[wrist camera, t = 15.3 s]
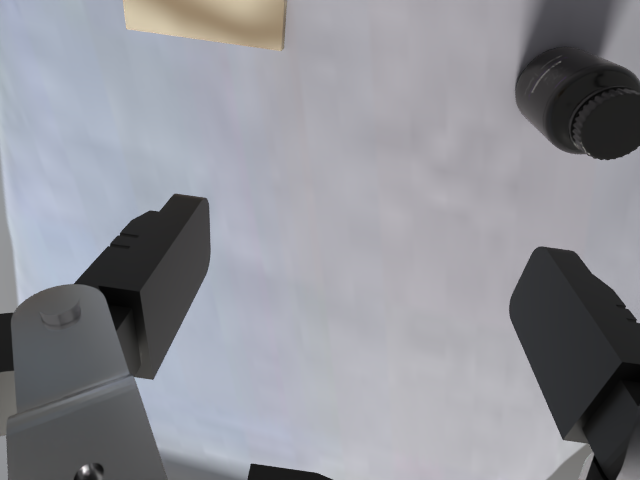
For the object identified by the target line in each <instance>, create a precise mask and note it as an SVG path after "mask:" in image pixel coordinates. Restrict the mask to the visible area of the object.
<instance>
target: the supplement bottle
mask: <svg viewBox="0 0 640 480" xmlns="http://www.w3.org/2000/svg"><path fill="white" fill-rule="evenodd" d="M516 103H517V106H518V108H519V110H520V112H521V113H522V114H523V116H524V117H525V118H526V119H527V120H528V121H529V122H530V123H531V124H532V125H533V126H535V127H536V128H537V129H538V130H539V131H540V132H541V133H542V134H543V135H544V136H545V137H546V138H547V139H548V140H549V141H550V142H551V143H552V144H553V145H554V146H556V147H557V148H559V149H560V150H562V151H565V152H567V153H571V154H587V155H588V156H592V157H593V158H595V159H597V158H598V159H600V160H603V159H605V160H610V159H616V158H618V157H623V156H624V155H627V154H629V153H631V152H632V151H634V150H636V149H637V148H638V147H639V146H640V81H639V79H638V78H637V76H636V75H635V74H634V73H632V72H631V71H630V70H628V69H626V68H624V67H622V66H620V65H617V64H615V63H613V62H610V61H608V60H605V59H603V58H600V57H598V56H595V55H593V54H591V53H588V52H586V51H583V50H580V49H577V48H573V47H559V48H554V49H551V50H549V51H546V52H544V53H542V54H541V55H539V56H538V57H536V58H535V59H534V60H533V61H531V62H530V63H529V64H528V66H527V67H526V68H525V69H524V71H523V72H522V74H521V76H520V78H519V80H518V83H517V87H516Z"/></svg>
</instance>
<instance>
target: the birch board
mask: <svg viewBox="0 0 640 480" xmlns="http://www.w3.org/2000/svg"><path fill="white" fill-rule="evenodd" d="M123 5H124V13H125V21H126V29H129V30H137V31H144V32H151V33H158V34H165V35H172V36H179V37H186V38H193V39H200V40H207V41H214V42H221V43H228V44H236V45H243V46H250V47H257V48H264V49H271V50H278V51H282V50H283V49H284V38H285V22H286V7H287V0H123Z"/></svg>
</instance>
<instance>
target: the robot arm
mask: <svg viewBox="0 0 640 480" xmlns="http://www.w3.org/2000/svg"><path fill="white" fill-rule="evenodd" d="M209 262H210V218H209V203H208V200H207V198H203V197H196V196H189V195H182V194H174V195H173V196H172V197H171V198H170V199H169V201H168V202H167V203H166V204H165V205H164V207H163V208H162V209H161V210H160V211H159V212H157V211H148V212H146V213H144V214H143V215H141V216H139V217H137V218H135V219H133V220H131V221H130V223H129V224H128V225H127V226H126V227H125V228H124V229H123V230H122V231H121V232H120V236H117V237H116V238H115V239H114V240H113V241H112V242H111V243H110V247H109V246H108V247H107V248H106V249H105V250H104V251H103V252H102V253H101V254H100V256H99V257H98V258H97V259H96V260H95V261H94V262H93V263H92V264H91V265H90V267H89V268H88V269H87V270H86V271H85V272H84V273H83V274H82V275H81V276H80V278H79V279H78V280H77V281H76V282H75V283H74V284H68V285H61V286H55V287H52V288H48V289H46V290H43V291H40V292H38V293H36V294H34V295H33V296H31V297H29V298H28V299H26V300H25V301H24V302H23V303H21V304H20V305H19V306H18V308H17V309H16V310H15V312H14V313H4V314H0V436H4V435H6V439H7V440H6V441H7V464H8V480H168V478H167V475H166V472H165V469H164V466H163V463H162V460H161V457H160V454H159V451H158V448H157V445H156V442H155V439H154V436H153V433H152V430H151V427H150V424H149V421H148V418H147V414H146V411H145V408H144V405H143V402H142V399H141V396H140V393H139V390H138V387H137V384H136V381H135V379H134V377H138V378H145V379H152V380H153V379H154V377H155V375H156V373H157V371H158V369H159V367H160V365H161V363H162V361H163V359H164V357H165V355H166V353H167V351H168V349H169V347H170V346H171V344H172V342H173V340H174V338H175V336H176V334H177V332H178V330H179V328H180V326H181V324H182V322H183V320H184V318H185V316H186V314H187V312H188V310H189V308H190V306H191V304H192V302H193V300H194V298H195V296H196V294H197V292H198V290H199V288H200V286H201V284H202V282H203V280H204V278H205V276H206V273H207V270H208V267H209ZM625 307H626V306H625V304H624V303H623V302H622V300H621V299H620V298H619V297H618V295H617V294H616V293H615V292H614V290H613V289H611V288H610V287H609V286H608V285H606V284H605V283H604V282H602V281H601V280H600V279H598V278H597V277H596V276H595V275H593V274H592V273H591V272H590V270H589V269H588V268H587V267H586V265H585V264H584V263H583V261H582V260H581V259H580V257H579V256H578V255H577V254H576V253H575V252H574V251H570V250H563V249H556V248H549V247H538V248H536V249H535V250H534V251H533V253H532V255H531V256H530V259H529V261H528V263H527V265H526V267H525V269H524V271H523V273H522V275H521V277H520V279H519V281H518V283H517V285H516V287H515V290H514V292H513V294H512V296H511V299H510V305H509V313H510V319H511V321H512V324H513V326H514V328H515V331H516V333H517V335H518V338H519V340H520V342H521V344H522V347H523V349H524V351H525V354H526V356H527V358H528V361H529V363H530V365H531V368H532V370H533V372H534V374H535V377H536V379H537V381H538V384H539V386H540V388H541V391H542V393H543V395H544V398H545V400H546V402H547V404H548V407H549V409H550V411H551V414H552V416H553V418H554V421H555V423H556V425H557V428H558V430H559V432H560V434H561V437H562V439H563V440H567V441H574V442H581V443H588V444H590V446H591V449H592V451H593V452H592V453H591V454H590V455H589V456H588V457H587V459H586V460H585V462H584V465H583V468H582V471H581V474H580V476H579V479H578V480H640V323H636V320H637V319H636V318H635V317H634V316H633V314H632V313H631V312H630V311H629V309H626V308H625ZM248 480H332V479H330V478H328V477H325V476H323V475H321V474H318V473H314V472H307V471H300V470H293V469H286V468H279V467H272V466H265V465H258V464H251V466H250V470H249V475H248Z"/></svg>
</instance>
